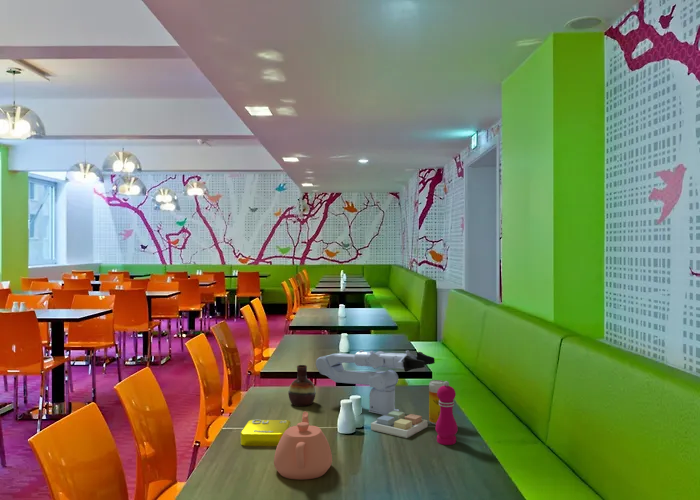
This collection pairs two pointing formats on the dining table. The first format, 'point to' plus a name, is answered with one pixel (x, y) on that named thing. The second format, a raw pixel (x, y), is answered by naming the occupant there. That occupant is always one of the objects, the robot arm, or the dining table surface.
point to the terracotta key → (414, 418)
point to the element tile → (263, 432)
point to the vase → (302, 388)
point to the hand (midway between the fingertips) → (429, 362)
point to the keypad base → (397, 431)
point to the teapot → (303, 452)
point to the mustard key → (403, 424)
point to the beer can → (434, 400)
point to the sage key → (397, 415)
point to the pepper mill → (446, 416)
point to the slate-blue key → (386, 420)
